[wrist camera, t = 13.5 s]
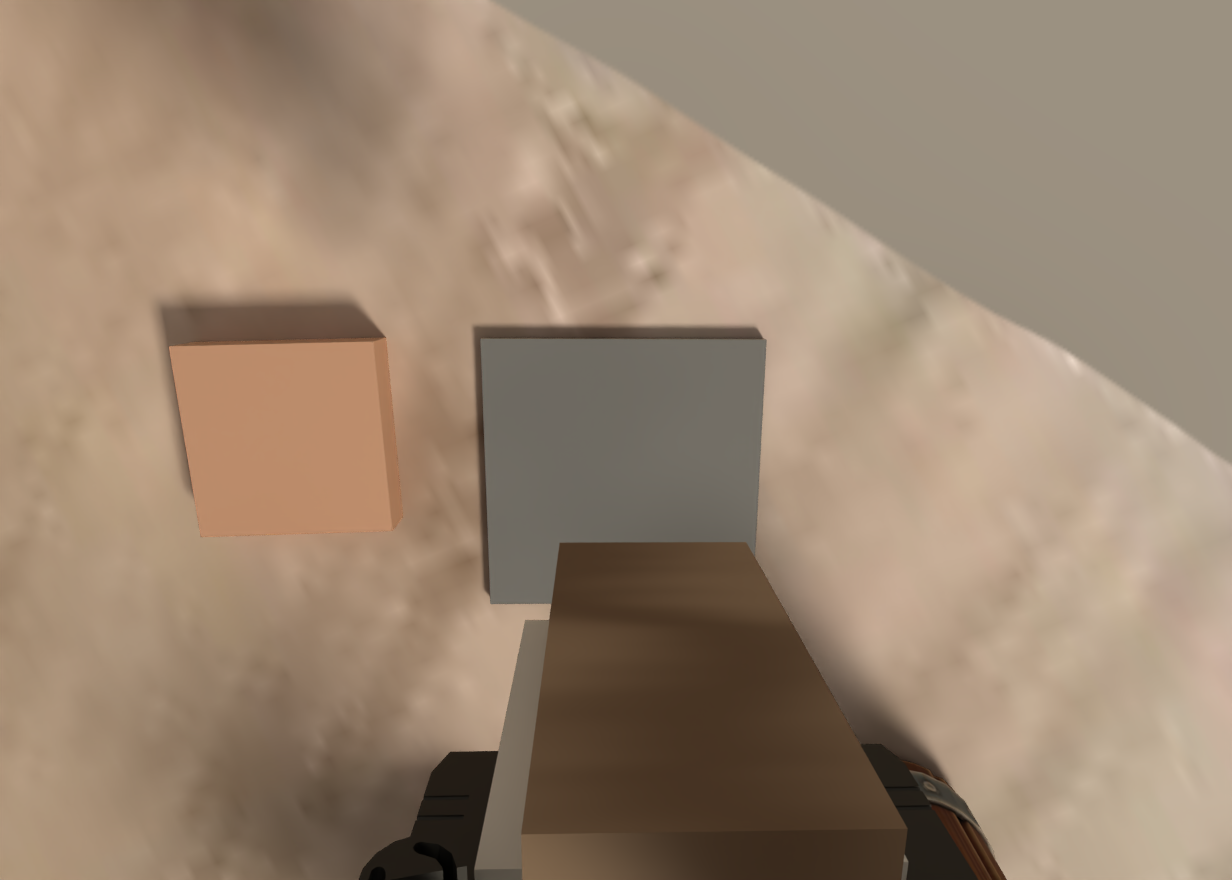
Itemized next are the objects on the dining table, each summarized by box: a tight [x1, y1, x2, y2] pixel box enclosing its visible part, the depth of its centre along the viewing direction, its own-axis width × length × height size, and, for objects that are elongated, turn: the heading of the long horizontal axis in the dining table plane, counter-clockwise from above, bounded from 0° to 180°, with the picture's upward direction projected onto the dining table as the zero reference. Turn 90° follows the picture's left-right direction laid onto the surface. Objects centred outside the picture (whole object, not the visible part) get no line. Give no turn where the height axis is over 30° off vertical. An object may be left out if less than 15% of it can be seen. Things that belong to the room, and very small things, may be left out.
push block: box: [521, 542, 908, 880], centre depth 12 cm, size 4×6×8 cm, turn 0°
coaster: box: [480, 338, 766, 604], centre depth 31 cm, size 12×12×1 cm
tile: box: [169, 337, 403, 537], centre depth 30 cm, size 8×2×8 cm
